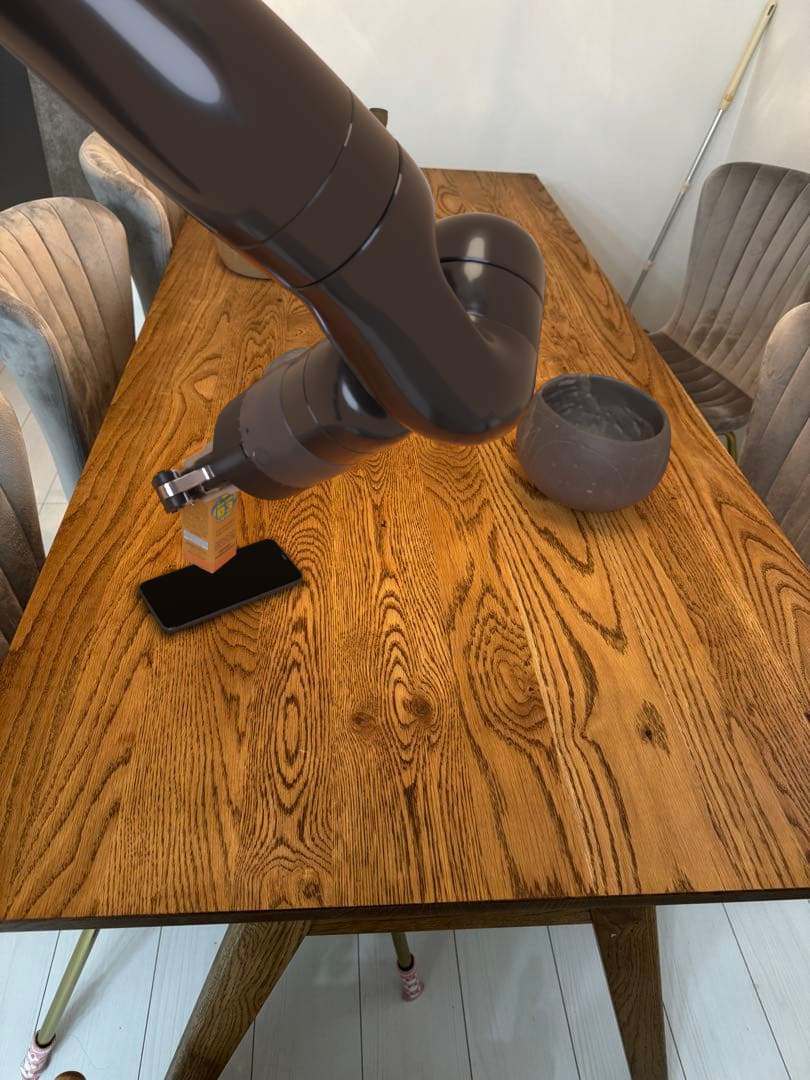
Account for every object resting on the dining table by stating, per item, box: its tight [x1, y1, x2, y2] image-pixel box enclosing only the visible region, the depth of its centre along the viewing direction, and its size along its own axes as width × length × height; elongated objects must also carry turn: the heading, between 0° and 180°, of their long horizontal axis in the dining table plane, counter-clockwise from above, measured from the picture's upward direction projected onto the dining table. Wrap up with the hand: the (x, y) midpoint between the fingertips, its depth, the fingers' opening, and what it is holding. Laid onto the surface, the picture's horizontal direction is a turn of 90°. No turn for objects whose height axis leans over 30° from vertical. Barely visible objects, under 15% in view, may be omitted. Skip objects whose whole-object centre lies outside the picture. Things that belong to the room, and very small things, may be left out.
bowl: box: [514, 372, 672, 513], centre depth 97 cm, size 18×18×13 cm
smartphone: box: [138, 538, 304, 634], centre depth 81 cm, size 7×1×15 cm
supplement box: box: [178, 444, 238, 573], centre depth 64 cm, size 3×3×10 cm
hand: (193, 488), depth 65 cm, fingers closed on supplement box, 4 cm apart
